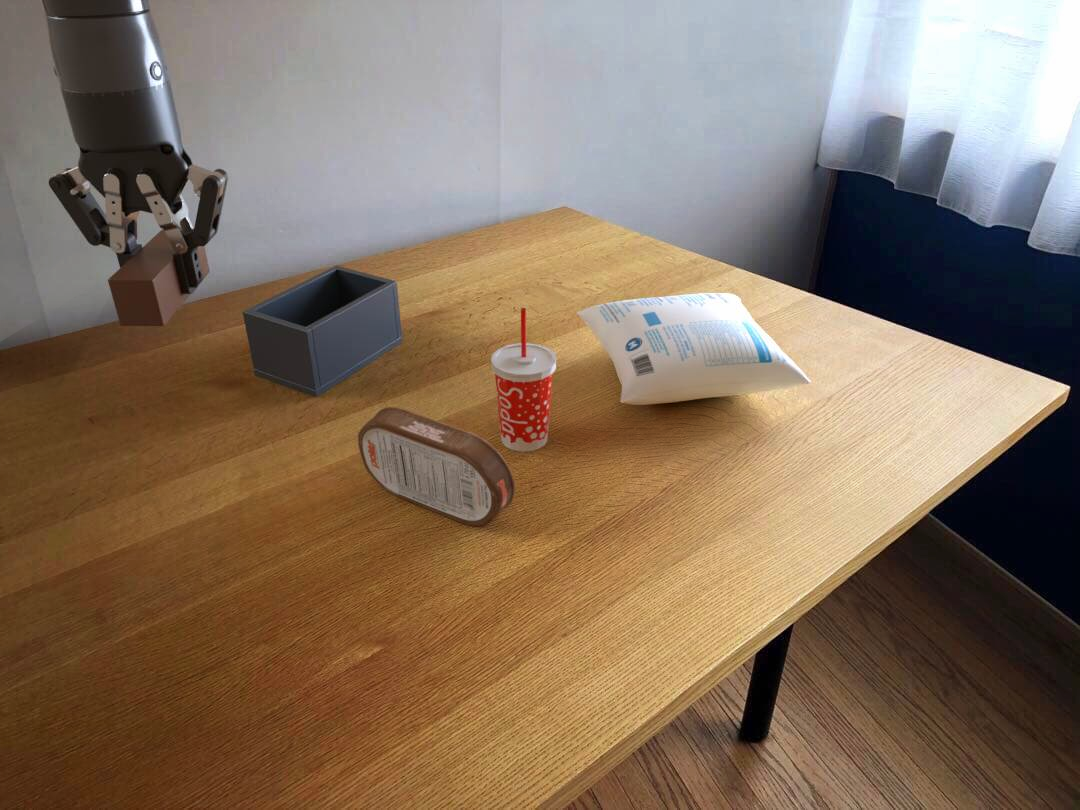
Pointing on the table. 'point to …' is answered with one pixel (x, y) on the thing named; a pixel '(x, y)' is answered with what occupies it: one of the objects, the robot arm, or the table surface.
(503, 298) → the table surface
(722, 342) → the pouch
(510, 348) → the beverage cup
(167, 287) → the brown block
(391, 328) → the bin
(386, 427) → the tin
